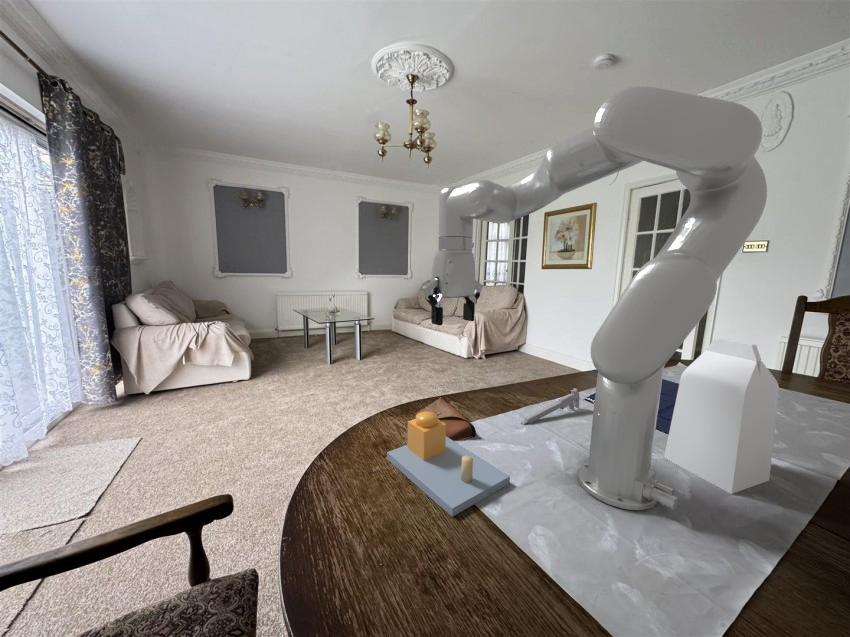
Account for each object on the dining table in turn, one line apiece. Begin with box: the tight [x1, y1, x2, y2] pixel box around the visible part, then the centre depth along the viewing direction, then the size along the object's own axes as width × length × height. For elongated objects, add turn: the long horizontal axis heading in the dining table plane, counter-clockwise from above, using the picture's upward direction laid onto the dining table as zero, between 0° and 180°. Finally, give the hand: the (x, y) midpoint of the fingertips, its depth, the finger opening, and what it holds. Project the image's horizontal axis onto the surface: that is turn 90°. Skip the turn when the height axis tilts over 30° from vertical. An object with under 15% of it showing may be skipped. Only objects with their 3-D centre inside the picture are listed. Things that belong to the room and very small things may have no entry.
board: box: [386, 437, 511, 517], centre depth 66 cm, size 20×14×6 cm
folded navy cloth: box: [585, 378, 679, 435], centre depth 98 cm, size 24×30×4 cm
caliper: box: [520, 387, 580, 425], centre depth 90 cm, size 21×1×6 cm, turn 119°
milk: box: [663, 337, 780, 495], centre depth 66 cm, size 12×12×26 cm
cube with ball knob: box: [407, 412, 446, 461], centre depth 70 cm, size 6×6×7 cm
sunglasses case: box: [416, 397, 477, 442], centre depth 86 cm, size 18×7×7 cm, turn 24°
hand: (453, 322), depth 79 cm, fingers open, 9 cm apart
